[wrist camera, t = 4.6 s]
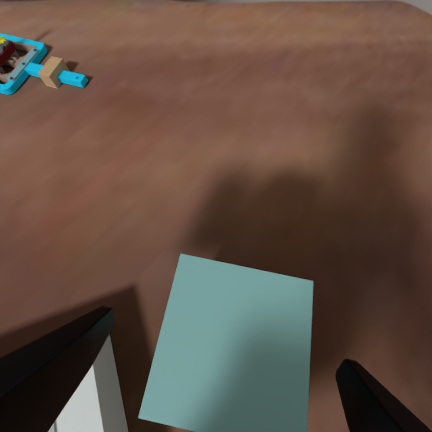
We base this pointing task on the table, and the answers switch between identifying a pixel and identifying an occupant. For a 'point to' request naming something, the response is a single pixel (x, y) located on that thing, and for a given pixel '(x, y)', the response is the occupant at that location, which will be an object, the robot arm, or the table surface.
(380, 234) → the table surface
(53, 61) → the gear mechanism
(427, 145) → the table surface
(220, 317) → the pillar
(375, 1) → the table surface
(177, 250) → the table surface
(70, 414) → the plinth
